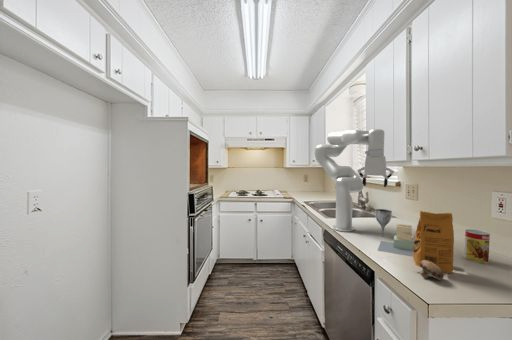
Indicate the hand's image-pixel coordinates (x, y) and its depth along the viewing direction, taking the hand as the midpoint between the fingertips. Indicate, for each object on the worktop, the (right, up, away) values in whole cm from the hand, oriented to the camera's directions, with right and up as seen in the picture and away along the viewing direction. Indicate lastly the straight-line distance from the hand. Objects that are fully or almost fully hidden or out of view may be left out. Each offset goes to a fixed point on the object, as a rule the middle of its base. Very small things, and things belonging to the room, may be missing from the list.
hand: (374, 186), depth 136 cm
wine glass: (+7, -29, +5) cm, 30 cm away
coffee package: (+7, -30, -34) cm, 46 cm away
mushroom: (0, -30, -43) cm, 53 cm away
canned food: (+32, -30, -25) cm, 50 cm away
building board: (+4, -29, -15) cm, 33 cm away
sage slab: (+8, -28, -13) cm, 32 cm away
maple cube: (+8, -24, -13) cm, 28 cm away
